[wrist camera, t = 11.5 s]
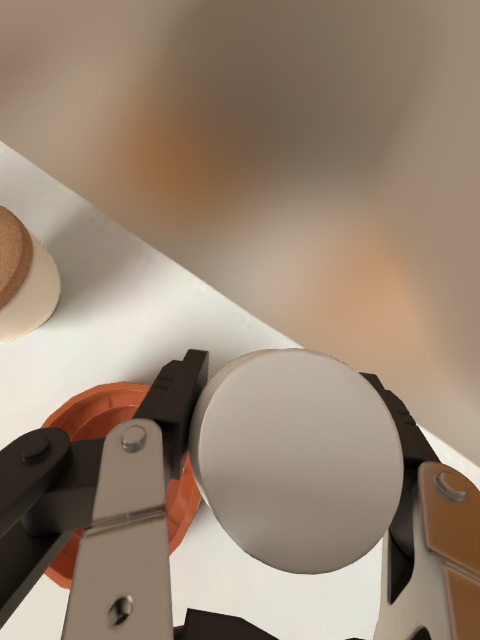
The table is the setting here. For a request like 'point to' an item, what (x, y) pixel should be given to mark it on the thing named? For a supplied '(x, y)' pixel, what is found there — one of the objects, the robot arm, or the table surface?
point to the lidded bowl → (24, 279)
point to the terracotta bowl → (96, 422)
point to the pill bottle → (296, 459)
